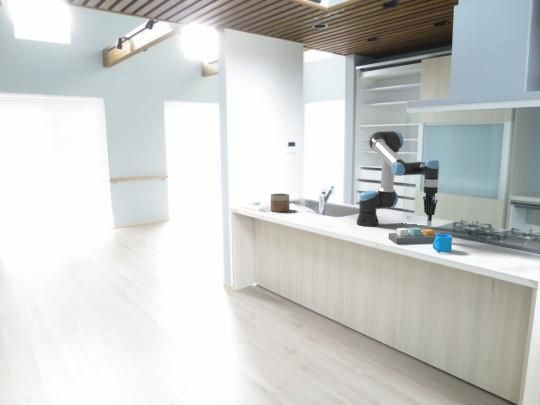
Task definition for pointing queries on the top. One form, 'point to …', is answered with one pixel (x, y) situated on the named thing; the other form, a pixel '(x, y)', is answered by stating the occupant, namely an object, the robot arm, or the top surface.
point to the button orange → (428, 232)
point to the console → (412, 238)
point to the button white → (402, 232)
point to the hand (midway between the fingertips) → (428, 225)
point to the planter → (280, 202)
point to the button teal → (415, 231)
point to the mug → (443, 243)
